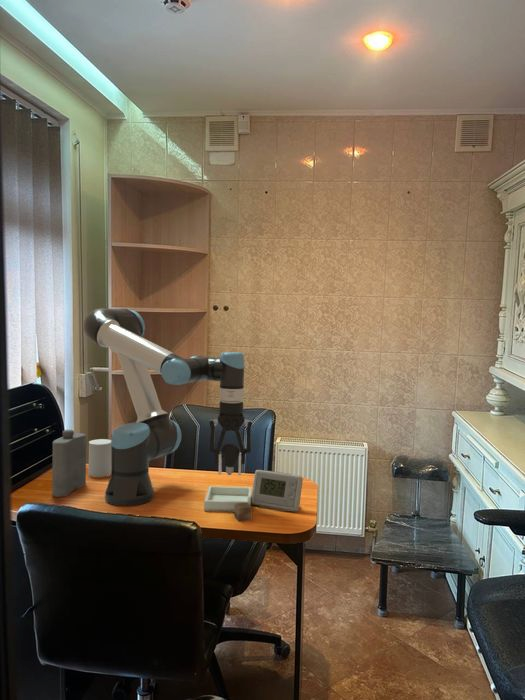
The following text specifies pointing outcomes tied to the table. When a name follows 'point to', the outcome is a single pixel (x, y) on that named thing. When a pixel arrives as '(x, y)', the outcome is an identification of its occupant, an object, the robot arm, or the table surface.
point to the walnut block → (243, 512)
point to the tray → (226, 498)
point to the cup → (99, 457)
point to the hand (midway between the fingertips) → (229, 473)
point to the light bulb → (230, 456)
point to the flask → (68, 463)
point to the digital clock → (276, 490)
